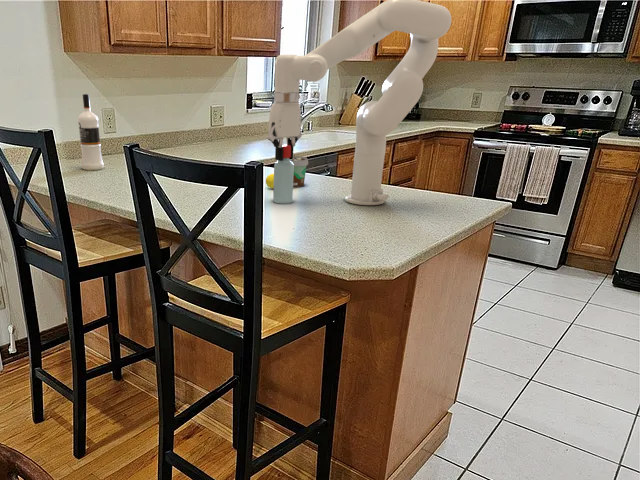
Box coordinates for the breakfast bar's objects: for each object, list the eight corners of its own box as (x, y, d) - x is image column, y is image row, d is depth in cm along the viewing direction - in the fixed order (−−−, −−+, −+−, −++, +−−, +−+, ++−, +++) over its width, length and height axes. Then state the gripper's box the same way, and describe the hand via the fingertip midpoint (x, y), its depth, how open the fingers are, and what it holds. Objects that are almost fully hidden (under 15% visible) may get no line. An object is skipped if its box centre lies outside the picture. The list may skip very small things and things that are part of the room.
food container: (305, 189, 193) (307, 161, 189) (288, 188, 194) (290, 160, 190) (308, 182, 204) (309, 156, 200) (292, 181, 205) (293, 155, 201)
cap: (285, 155, 171) (285, 144, 170) (292, 157, 168) (293, 145, 167) (275, 156, 169) (276, 145, 167) (283, 158, 166) (284, 146, 165)
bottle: (296, 201, 174) (298, 147, 167) (281, 204, 170) (283, 149, 163) (283, 198, 178) (285, 145, 171) (269, 200, 175) (270, 146, 168)
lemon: (262, 187, 195) (262, 172, 192) (274, 186, 197) (274, 171, 195) (272, 191, 189) (272, 176, 187) (284, 189, 191) (285, 174, 189)
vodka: (105, 169, 224) (98, 94, 212) (83, 171, 220) (75, 94, 208) (102, 166, 231) (95, 93, 219) (80, 167, 228) (72, 93, 216)
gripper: (298, 97, 169) (295, 155, 176) (257, 98, 160) (256, 160, 167) (314, 98, 163) (310, 158, 171) (273, 100, 154) (271, 163, 162)
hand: (284, 158), depth 169 cm, fingers closed on cap, 3 cm apart
